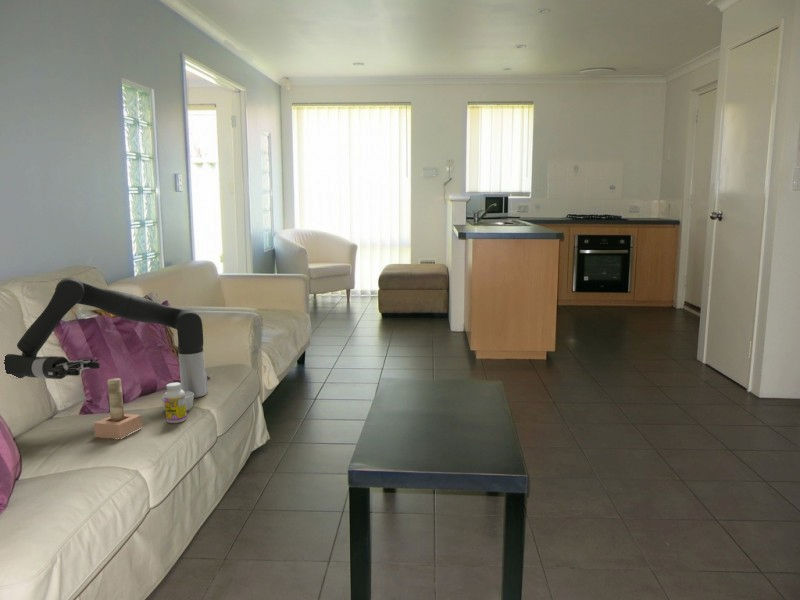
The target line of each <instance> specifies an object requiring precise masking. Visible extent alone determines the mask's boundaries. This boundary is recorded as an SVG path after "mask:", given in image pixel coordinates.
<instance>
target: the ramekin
mask: <svg viewBox="0 0 800 600" xmlns="http://www.w3.org/2000/svg"><path fill="white" fill-rule="evenodd" d="M184 393H185V403H186V412H188V411H190V410H192V408H193V407H194V399H195V398H194V393H193V392H190V391H184ZM164 395H165V394H163V395H162V396H161V401H162V403H163V407H164V409H165V399H164Z"/></svg>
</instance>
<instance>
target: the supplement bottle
mask: <svg viewBox="0 0 800 600" xmlns="http://www.w3.org/2000/svg"><path fill="white" fill-rule="evenodd" d="M166 390H167V391H166V392H165V393H164V394H163V395H164V399H165V408H164V411H165V417H166V418H165V420H166V423H169V424H178V423H182V422H184V421H186V420H187V418H188V415H187V411H186V403H185V393H184V391H183V390H182V389H181V382H178V381H177V382H176V381H175V382H169V383H168V384H166Z"/></svg>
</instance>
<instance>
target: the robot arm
mask: <svg viewBox="0 0 800 600" xmlns="http://www.w3.org/2000/svg"><path fill="white" fill-rule="evenodd" d="M77 304H79V305H84V306H89V307H93V308H96V309H98V310H101V311H103V312H105V313H109V314H110V315H112V316H115V317H118V318H121V319H125V320H129V321H134V322H139V323H146V324H147V323H148V324H149V323H150V324H159V325H163V326H166V327H169V328H172V329H175V330H177V340H178V341H177V354H178V364H179V376H180V383H181V390H183V391H190V392H193V393H194V398H193V399H196V398H201V397H204V396H206V395H207V394H208V392H209V389H208V387H209V386H208V377H207V376H208V375H207V368H206V365H205V356H204V331H203V330H204V329H203V321H202V320H203V319H202V318H201V316H200V315H199V313H197V312H195V311H194V310H191V309H184V308H179V307H173V306H169V305H164V304H162V303H159V302H156V301H154V300H151V299H148V298H145V297H143V296H139V295H135V294H132V293H128V292H124V291H119V290H115V289H114V290H113V289H107V288H102V287H99V286H96V285H93V284H90V283H87V282H85V281H82V280H80V279H77V278H74V277H66V278H63V279H60V280H59V282H58V283H57V284H56V286H55V289H54V293H53V295H52V297H51V299H50V300H49V302H48V304H47V306H46V307H45V309H44V310H43V311H42V312H41V313H40V315H39V316H38V317H37V318H36V319H35V321H33V322H32V324H31V325H30V326H29V327H28V329H26V331H25V333H24V334H23V335H22V336H21V338H20V339H19V341H18V342H17V344H16V347H17V349H18V350H19V351H21V352H22V353H21V355H20V354H15V353H8V354H7V355H6V354H5V355H6V356H5V360H4V361H5V362H4V364H5V370H6V373H7V374H12V375H14V376H16V377H18V378H20V379H23V378H24V377H27V378H40V379H49V380H63V379H64V378H66V377H69V376H74V377H79V376H80V375H81V372H82V371H84V370H88V369H91V370H92V369H94V370H95V369H96V370H98V369H100V362H99V361H94V359H92V358H87V359H85V358H84V359H83V358H82V359H81V358H80V359H77V360H69V359H67V358H66V357H64V356H56V355H54V356H51V355H50V356H47V355H46V356H38V353H39V351H40V350H41V349H42V347H43V346H44V345H45V343H46V342H47V341H48V339H49V338H50V337H51V335H52V333H53V332H54V330H55V329H56V327H57V326H58V325H59V323H60V322H61V321H62V319H64V317H65V316H66V315H67V313H69V311H70V310H71V309H72V308H74V307H75V306H76V305H77ZM18 378H17V379H18Z"/></svg>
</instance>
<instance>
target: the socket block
mask: <svg viewBox="0 0 800 600" xmlns="http://www.w3.org/2000/svg"><path fill="white" fill-rule="evenodd" d="M93 427H94V428H93V429H94V437H95V438H98V437H99V438H101V439H109V438H117V439H116V440H119V439H121V438H122V437H124V436H126V435H128V434H129V433H131V432H133V431H135V430H137V429H139V428H141V427H142V428H143V421H142V415H141V414H130V413H124V420H122V421H120V422H111V415H109V416H107V417H104V418H102V419H99V420H97V421H94V422H93ZM99 438H98V439H99ZM118 438H119V439H118ZM121 440H122V439H121Z"/></svg>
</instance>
